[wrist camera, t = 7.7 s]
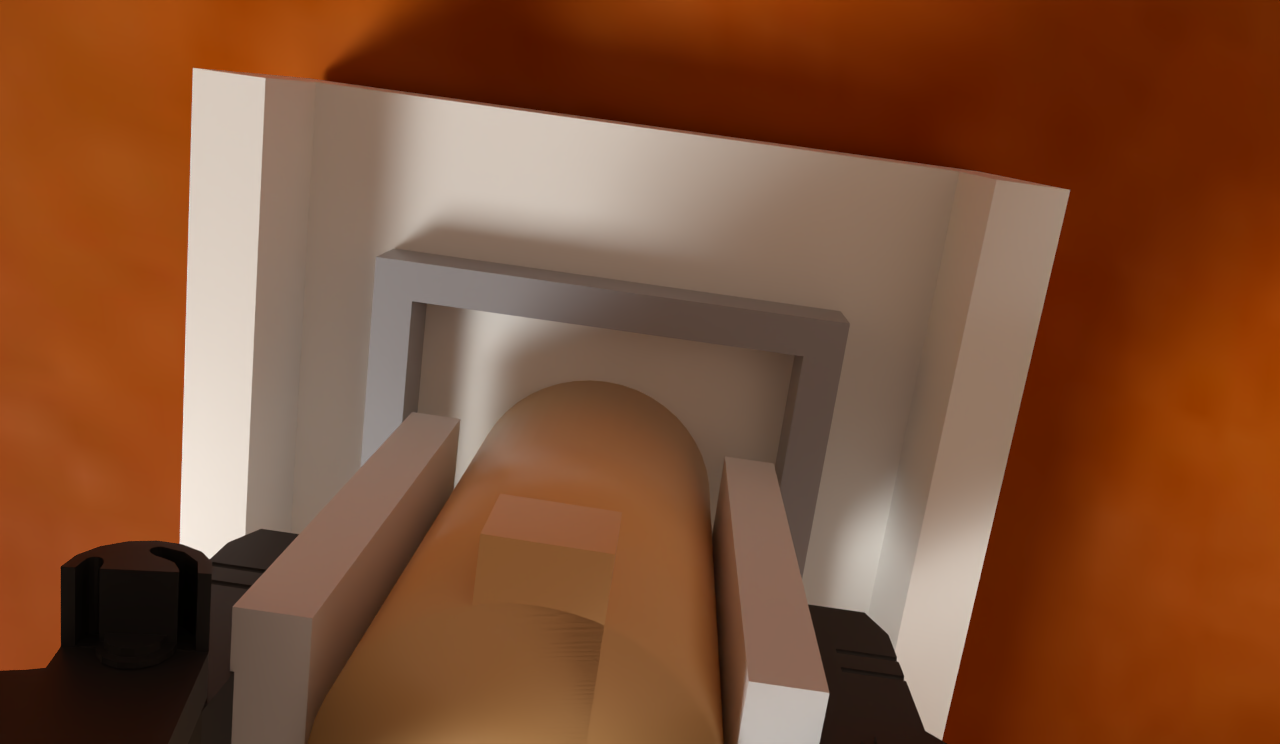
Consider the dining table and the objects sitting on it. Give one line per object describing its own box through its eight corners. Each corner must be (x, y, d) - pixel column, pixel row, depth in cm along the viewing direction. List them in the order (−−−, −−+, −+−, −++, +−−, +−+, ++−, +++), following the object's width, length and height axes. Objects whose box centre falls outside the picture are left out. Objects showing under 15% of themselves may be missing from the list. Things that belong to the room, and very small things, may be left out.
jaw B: (490, 328, 17) (323, 509, 9) (733, 364, 17) (773, 578, 9) (457, 616, 18) (288, 988, 10) (684, 651, 18) (680, 1051, 10)
